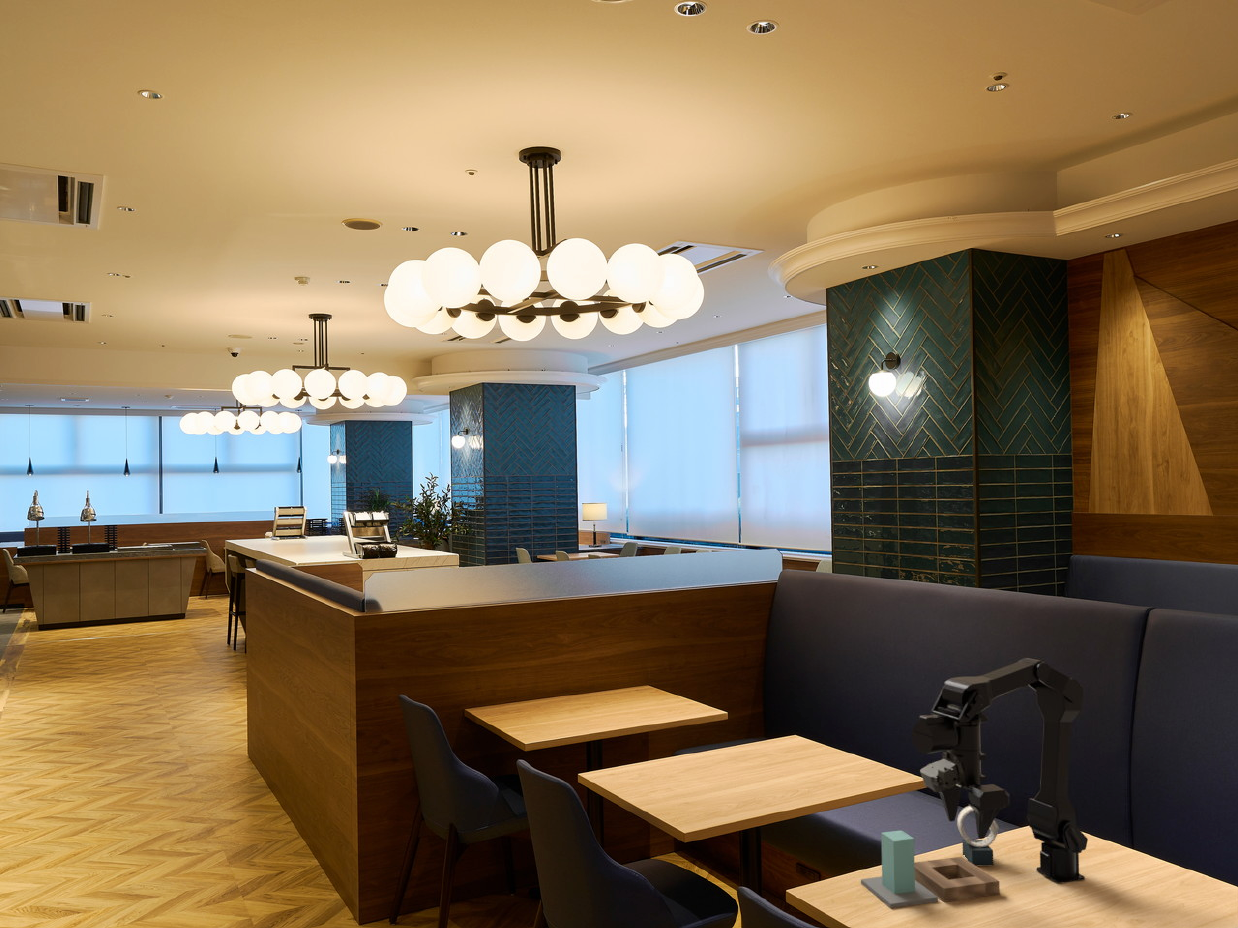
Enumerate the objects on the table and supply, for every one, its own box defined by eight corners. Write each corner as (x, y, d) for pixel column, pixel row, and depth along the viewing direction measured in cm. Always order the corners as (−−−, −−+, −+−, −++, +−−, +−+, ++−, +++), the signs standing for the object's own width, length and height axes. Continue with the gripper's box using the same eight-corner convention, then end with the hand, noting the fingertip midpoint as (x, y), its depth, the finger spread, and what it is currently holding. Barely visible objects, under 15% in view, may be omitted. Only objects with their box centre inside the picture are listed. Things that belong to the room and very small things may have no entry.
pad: (906, 877, 184) (906, 873, 184) (938, 901, 173) (937, 896, 173) (860, 883, 181) (860, 879, 181) (890, 907, 171) (890, 903, 171)
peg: (902, 881, 180) (901, 830, 180) (915, 891, 176) (914, 838, 176) (882, 884, 179) (881, 832, 179) (894, 893, 175) (893, 840, 175)
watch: (1003, 865, 189) (1001, 811, 189) (963, 865, 189) (962, 811, 189) (992, 854, 194) (991, 802, 195) (954, 854, 195) (953, 802, 195)
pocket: (961, 868, 187) (961, 856, 187) (999, 894, 176) (999, 880, 176) (909, 875, 184) (909, 863, 185) (944, 901, 173) (944, 888, 173)
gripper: (899, 737, 182) (901, 816, 181) (956, 764, 164) (958, 853, 163) (949, 732, 184) (951, 811, 184) (1010, 759, 166) (1012, 846, 166)
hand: (966, 829), depth 174 cm, fingers open, 9 cm apart
